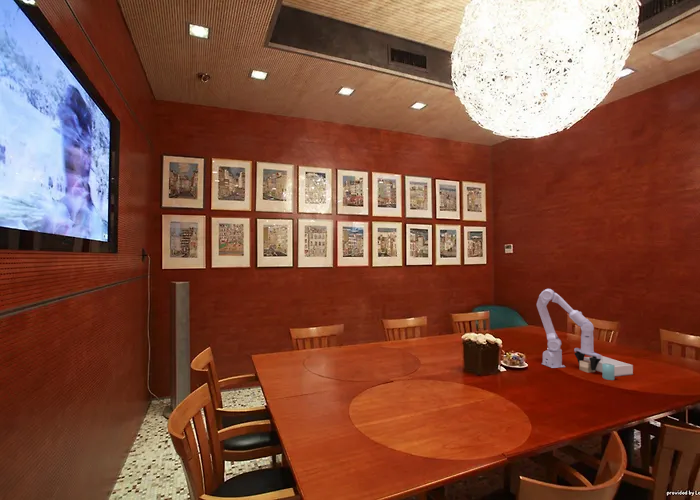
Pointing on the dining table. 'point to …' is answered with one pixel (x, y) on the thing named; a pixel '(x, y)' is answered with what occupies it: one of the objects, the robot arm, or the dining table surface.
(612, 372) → the teal cylinder
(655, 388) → the dining table surface
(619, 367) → the tote
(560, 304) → the robot arm
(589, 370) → the beech cube
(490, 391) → the dining table surface
